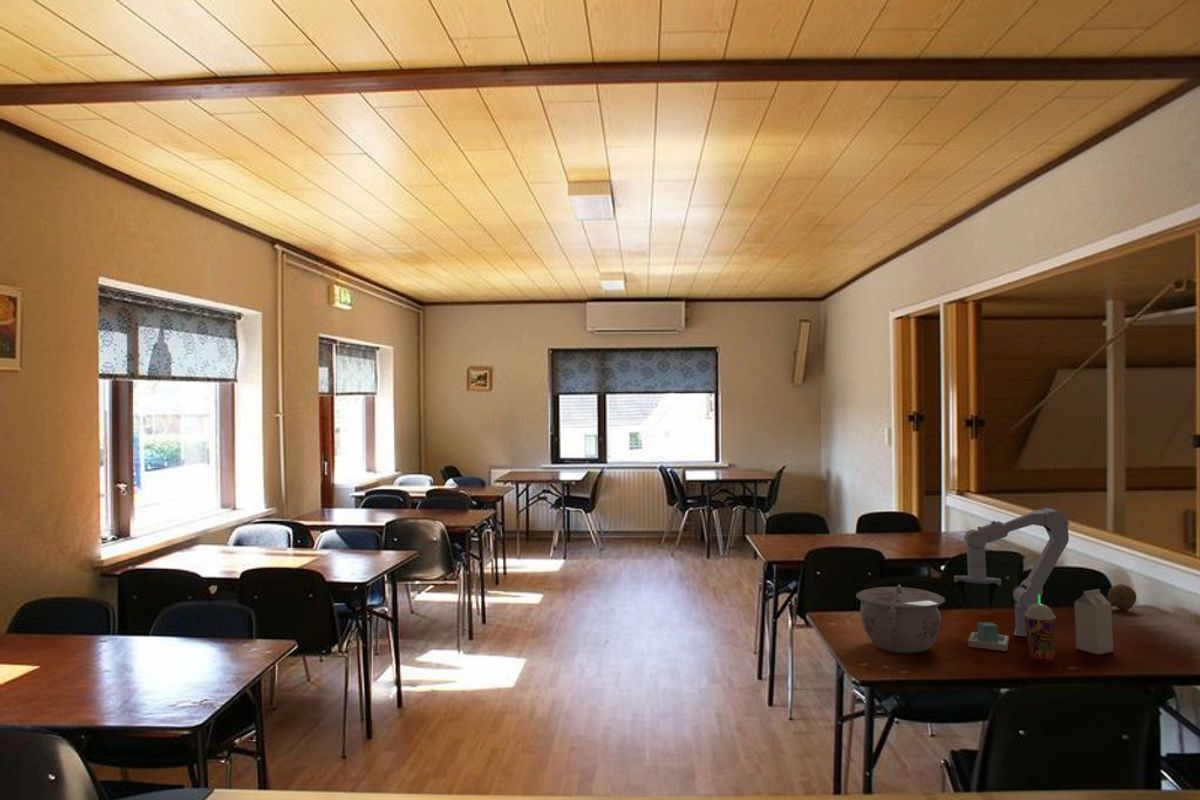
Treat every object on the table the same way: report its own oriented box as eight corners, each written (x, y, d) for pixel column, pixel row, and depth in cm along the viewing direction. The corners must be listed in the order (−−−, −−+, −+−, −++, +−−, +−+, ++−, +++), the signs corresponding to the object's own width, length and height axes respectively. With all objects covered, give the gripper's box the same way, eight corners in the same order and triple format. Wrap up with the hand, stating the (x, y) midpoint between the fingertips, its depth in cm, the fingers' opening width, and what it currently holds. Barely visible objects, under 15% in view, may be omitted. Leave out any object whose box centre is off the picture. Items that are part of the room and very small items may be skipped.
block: (991, 640, 256) (991, 622, 256) (998, 644, 251) (997, 625, 251) (978, 640, 256) (977, 622, 256) (984, 644, 251) (983, 626, 252)
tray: (1008, 642, 255) (1008, 635, 255) (1006, 651, 246) (1006, 644, 246) (972, 638, 261) (971, 631, 261) (968, 646, 251) (968, 640, 252)
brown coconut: (1123, 614, 284) (1122, 587, 285) (1102, 609, 293) (1100, 583, 293) (1142, 612, 287) (1141, 585, 287) (1121, 607, 295) (1120, 581, 296)
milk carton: (1076, 649, 246) (1073, 589, 246) (1092, 646, 248) (1089, 587, 249) (1097, 655, 239) (1094, 593, 240) (1113, 652, 242) (1110, 591, 242)
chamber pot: (904, 632, 270) (901, 572, 271) (967, 653, 245) (964, 588, 245) (838, 642, 260) (836, 581, 261) (897, 666, 235) (894, 597, 235)
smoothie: (1042, 666, 231) (1039, 598, 231) (1020, 658, 239) (1017, 593, 239) (1064, 662, 233) (1061, 596, 234) (1041, 655, 241) (1038, 590, 242)
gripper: (1000, 564, 267) (1002, 603, 267) (955, 561, 275) (956, 599, 274) (999, 567, 261) (1001, 608, 261) (952, 564, 268) (954, 604, 268)
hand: (978, 604), depth 267 cm, fingers open, 7 cm apart
